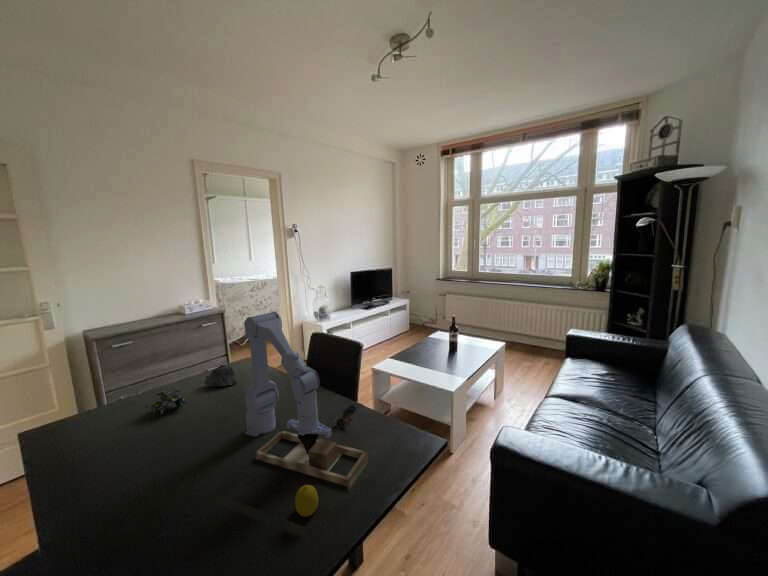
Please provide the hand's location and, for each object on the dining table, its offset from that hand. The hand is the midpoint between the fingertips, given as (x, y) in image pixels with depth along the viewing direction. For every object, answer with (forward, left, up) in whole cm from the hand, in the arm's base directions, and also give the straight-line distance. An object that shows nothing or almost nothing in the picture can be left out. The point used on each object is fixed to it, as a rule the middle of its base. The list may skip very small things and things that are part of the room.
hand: (310, 453), depth 97 cm
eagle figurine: (+1, +21, -3) cm, 21 cm away
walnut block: (+5, 0, -2) cm, 5 cm away
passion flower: (-72, +5, -3) cm, 72 cm away
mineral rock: (-71, +31, -3) cm, 77 cm away
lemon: (+10, -16, -3) cm, 19 cm away
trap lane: (0, 0, -3) cm, 3 cm away
